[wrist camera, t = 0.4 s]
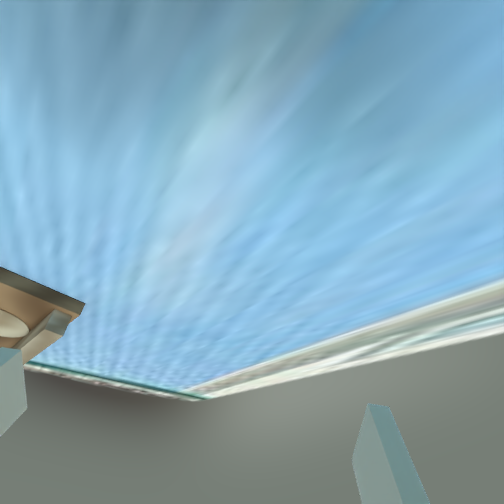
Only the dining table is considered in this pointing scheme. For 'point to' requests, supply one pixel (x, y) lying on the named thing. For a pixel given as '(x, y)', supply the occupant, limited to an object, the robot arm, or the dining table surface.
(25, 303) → the walnut board
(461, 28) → the dining table surface
